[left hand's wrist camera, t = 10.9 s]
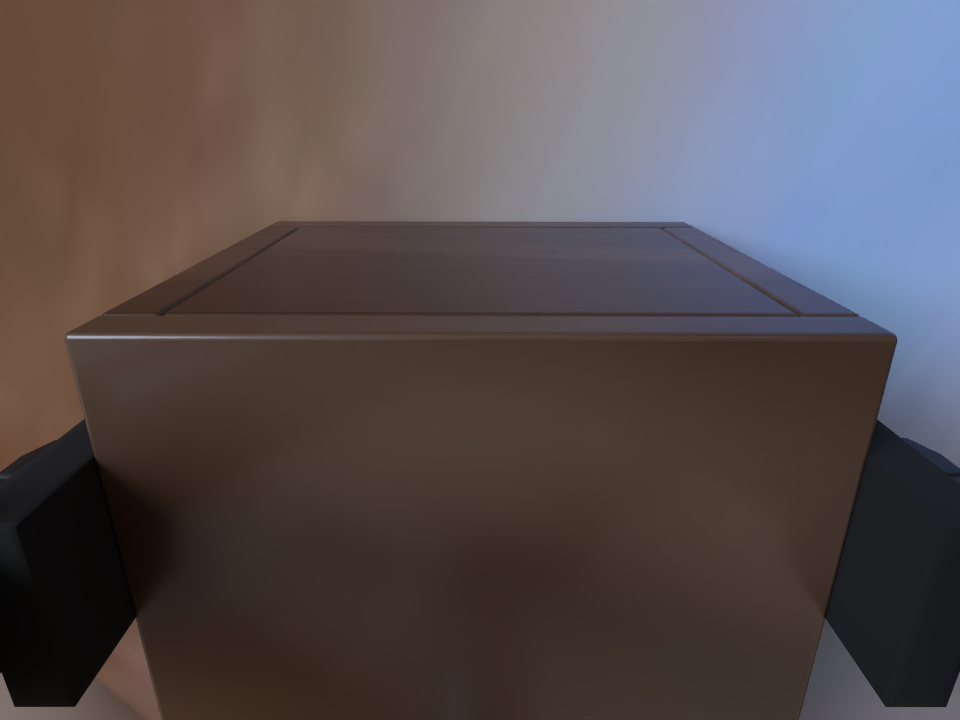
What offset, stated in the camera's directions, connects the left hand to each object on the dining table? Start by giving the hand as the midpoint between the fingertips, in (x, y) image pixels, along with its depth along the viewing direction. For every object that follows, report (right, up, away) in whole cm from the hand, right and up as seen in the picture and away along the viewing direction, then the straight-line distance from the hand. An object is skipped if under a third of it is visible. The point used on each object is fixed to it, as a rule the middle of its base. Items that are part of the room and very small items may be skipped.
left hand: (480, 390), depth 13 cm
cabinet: (0, -5, +6) cm, 8 cm away
